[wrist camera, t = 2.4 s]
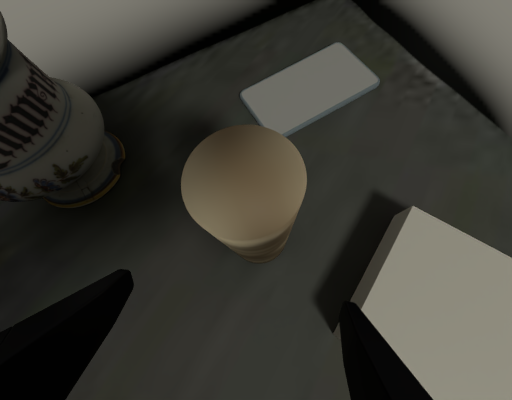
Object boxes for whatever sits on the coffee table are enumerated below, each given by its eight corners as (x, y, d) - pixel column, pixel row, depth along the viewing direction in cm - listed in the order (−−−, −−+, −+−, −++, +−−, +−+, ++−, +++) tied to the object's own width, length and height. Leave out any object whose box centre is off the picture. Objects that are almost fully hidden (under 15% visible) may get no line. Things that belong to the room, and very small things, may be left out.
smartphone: (236, 92, 27) (339, 39, 29) (237, 98, 28) (337, 46, 30) (272, 142, 24) (384, 81, 26) (272, 147, 25) (380, 87, 27)
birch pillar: (249, 274, 20) (215, 267, 8) (222, 226, 22) (162, 160, 10) (297, 244, 21) (333, 195, 9) (268, 200, 23) (263, 106, 10)
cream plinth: (490, 448, 16) (538, 485, 13) (333, 333, 18) (344, 343, 16) (536, 293, 18) (584, 296, 16) (394, 215, 21) (412, 205, 18)
